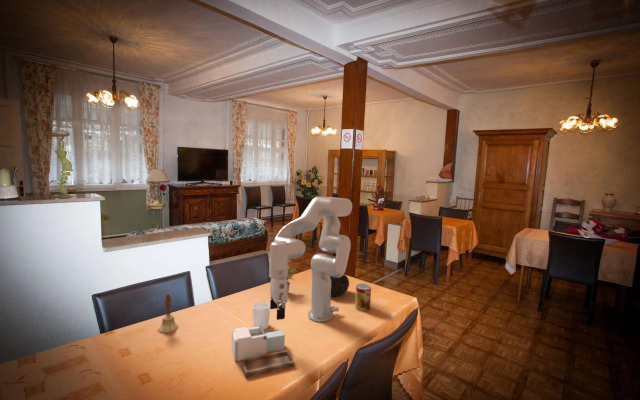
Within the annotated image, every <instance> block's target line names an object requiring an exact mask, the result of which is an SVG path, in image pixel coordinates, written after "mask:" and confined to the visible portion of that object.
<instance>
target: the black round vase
mask: <svg viewBox="0 0 640 400" xmlns="http://www.w3.org/2000/svg"><path fill="white" fill-rule="evenodd" d="M331 254H332V255H331V256H335V257H336V254H335V253H331ZM330 279H331V297H338V296H339V297H340V296H342V295H343V294H345V293H346V292H347V291H348V290H349V286H350V281H349V280H350V279H349V278H348V276H347V275H346V274H345V273H344V275H343V276H342V277H340V278H337V277H332V276H330Z"/></svg>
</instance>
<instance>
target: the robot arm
mask: <svg viewBox="0 0 640 400" xmlns="http://www.w3.org/2000/svg"><path fill="white" fill-rule="evenodd" d="M352 209H353V203H352V201H351V199H349V198H344V197H336V196H335V197H334V196H315V197H314V198H312V199H311V201H310V202H309V203H308V205H307V206H306V208H305V210H304V211H303V212H302V213H301V215H300V217H299V218H296V219H294V220H293V221H290V222H289V223H287V224H286V225H284V226H283V227H282V228H281V229H280V230H279V232H278V233H277V234H276V236H275V238H274V239H273V241H272V242H271V243H270V245H269V268H268V272H269V273H268V277H269V278H270V285H269V293H270V302H269V304H270V310H276V320H277V321H279V320H285V318H286V304H287V303H288V302H289V301H288V300H289V299H288V297H289V296H288V294H289V291H288V286H287V277H289V276H288V273H289V271H288V267H289V261H290V259H296V258H297V259H298V258H300V257H302V256H303V255H304V254H305V252H306V247H307V246H306V244H305V242H304V241H302V240H300V239H297V238H293V237H295V236H297V235H299V234H300V235H301V234H304V233H308V232H312V231H314V230H315V229H316V228H317V227H318V225H319V224H320V222H321V220H322V219H323V227H322V229H321V233H320V237H319V243H318V248H319V250H321V251H324V252H327V253H330V254H332V253H335V254H336V257H335V256H332V255H330V254H327V253H316V254H314V255H313V256H312V257H311V260H310V269H311V280H312V281H311V309H310V310H309V311H308V313H307V317H308V318H309V319H310V320H311V321H313V322H317V323H319V322H320V323H324V322H329V321H331V320H333V318H334V312H340V308H339V306H337V307H336V306H335V305H331V301H332V299H331V298H332V296H331V279H330V276H332V277H337V278H340V277H342V276H343V275H344V274H345V272H346V269H347V266H348V261H349V256H350V252H351V245H352V243H351V240H350V237H348V236H347V235H344V234H340V229H341V221H340V219H339V217H348V216H349V215H350V214H351V213H352Z"/></svg>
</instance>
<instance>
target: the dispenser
mask: <svg viewBox="0 0 640 400" xmlns="http://www.w3.org/2000/svg"><path fill="white" fill-rule="evenodd" d="M266 333H267V332H266V331H265V329H263V327H262V326H259V327H254V326H253V327H248V326H243V327H236V328H234V330H232V331H231V352H232V356H233V361H234V362H239V361H241V360H242V359H247V358H252V357H256V356H261V355H266V354H267V352H266V342H267V335H266ZM257 334H261V335H258V336H253V337H251V335H257Z"/></svg>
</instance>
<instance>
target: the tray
mask: <svg viewBox="0 0 640 400" xmlns="http://www.w3.org/2000/svg"><path fill="white" fill-rule="evenodd" d="M289 351H290V350H289V349H285V350H282V351H276V352H271V353H266V355H261V356H256V357H252V358H247V359H242V360H240V361H241V362H240V365H241V368H242V371H243V375H244V379H246V378H250V377H254V376H255V377H256V376H260V375H263V374H268V373H273V372H277V371H280V370H281V371H282V370H284V369H291V368H293V367H295V360H294V358H293V357H292V354H291V353H290V352H289Z"/></svg>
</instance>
